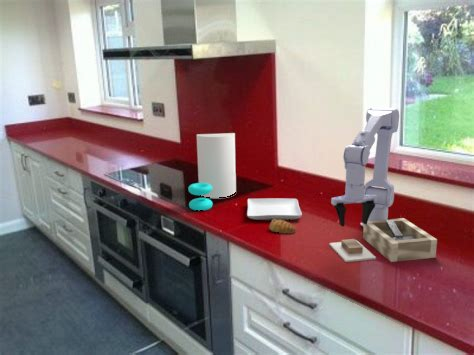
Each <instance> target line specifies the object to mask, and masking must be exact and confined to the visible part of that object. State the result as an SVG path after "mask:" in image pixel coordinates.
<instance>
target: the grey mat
mask: <svg viewBox="0 0 474 355" xmlns="http://www.w3.org/2000/svg"><path fill="white" fill-rule="evenodd" d="M356 241H357V242H358V243H359V244H360V245H361V246H362V247H363V253H356V254H348V252H347V251H346V250H345V249H344V248H343V247H342V246H341V241H337V242H329V244H328V245H329V246H330V248H332V250H333V251H335V253H336V254H337V253H338V255H339V257H340V258H341V259H342V260H343V261H344V262H345V263H350V262H359V261H360V262H361V261H369V260H377V256H375V255H374V254H373V253H372V252H371V251H370V250H369V249H367V248H366V247H365V246H364V245H363V244H362V243H361V242H359V241H358V240H356Z"/></svg>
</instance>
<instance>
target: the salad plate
mask: <svg viewBox="0 0 474 355" xmlns="http://www.w3.org/2000/svg"><path fill="white" fill-rule="evenodd" d="M246 202H247V211H246V216H247V217H248V218H249V219H251V220H257V221H272V220H273V219H276V220H285V221H288V220H289V219H290V220H297V219H299V218H301V217H302V215H303V213H302V209H301V208H300V206H299V200H298V199H297V198H273V197H272V198H271V197H270V198H269V197H268V198H248V199H247V201H246Z"/></svg>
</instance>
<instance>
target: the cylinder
mask: <svg viewBox="0 0 474 355" xmlns="http://www.w3.org/2000/svg"><path fill="white" fill-rule="evenodd" d="M196 152H197V153H196V154H197V173H198V174H197V176H198V183H207V184H210V185H211V186H212V191H211V192H210V193H208V194H206V195H201V197H202V196H204V197H203V198H206V197H210V198H209V199H220V198H219V197H226V198H228V197H227V196H230V195H232V194H234V193H235V192H236V193H237V174H236V133H235V132H229V133H228V132H227V133H226V132H225V133H224V132H223V133H200V134H199V133H198V134H196Z"/></svg>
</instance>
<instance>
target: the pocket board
mask: <svg viewBox="0 0 474 355" xmlns="http://www.w3.org/2000/svg"><path fill="white" fill-rule="evenodd" d="M388 220H393V221H394V222H395V224H396V226H397V227H398V229H399V231H400V232H401V234H403V235H404V236H414V237H415V238H416V239H409V240H398V241H395V240H393V239H392V238H393V237H394V236H393V234H392V233H391V231H390V229H389V227H388V226H387V224H386V221H388ZM362 227H363V226H362ZM362 239H364V240H365V241H366V242H367V243H368V244H369V245H370V246H372V247H373V248H374V249H375V250H376V251H377V252H378V253H380V254H381V255H382V256H383V257H384V258H386V260H388V261H390V262H391V263H395V262H405V261H413V260H423V259H431V258H432V259H433V258H437V257H436V256H437V247H438V246H437V245H438V239H437V238H435V237H434V236H432V235H431V234H430V233H428V232H427V231H425V230H424V229H422V228H420V227H418V226H417V225H415V223H412V222H410V221H409V220H408V219H406V218H404V217H402V218H391V219H387V220H378V221H368V222H367V224H364V227H363V233H362Z"/></svg>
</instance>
